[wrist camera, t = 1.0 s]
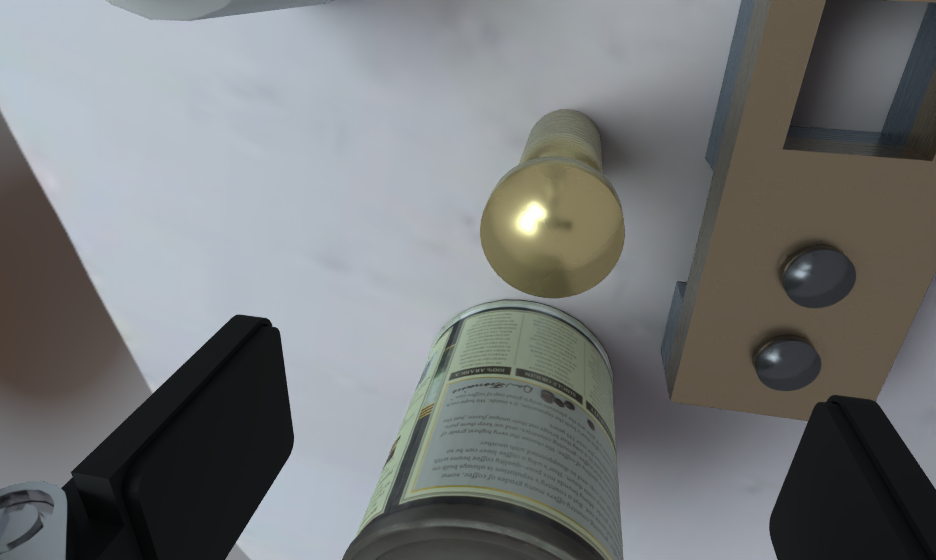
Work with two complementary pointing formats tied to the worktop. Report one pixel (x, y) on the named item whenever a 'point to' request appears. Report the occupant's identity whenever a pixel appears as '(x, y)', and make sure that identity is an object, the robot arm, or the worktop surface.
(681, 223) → the worktop surface
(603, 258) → the pin
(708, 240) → the peg hole board
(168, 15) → the can
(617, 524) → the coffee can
